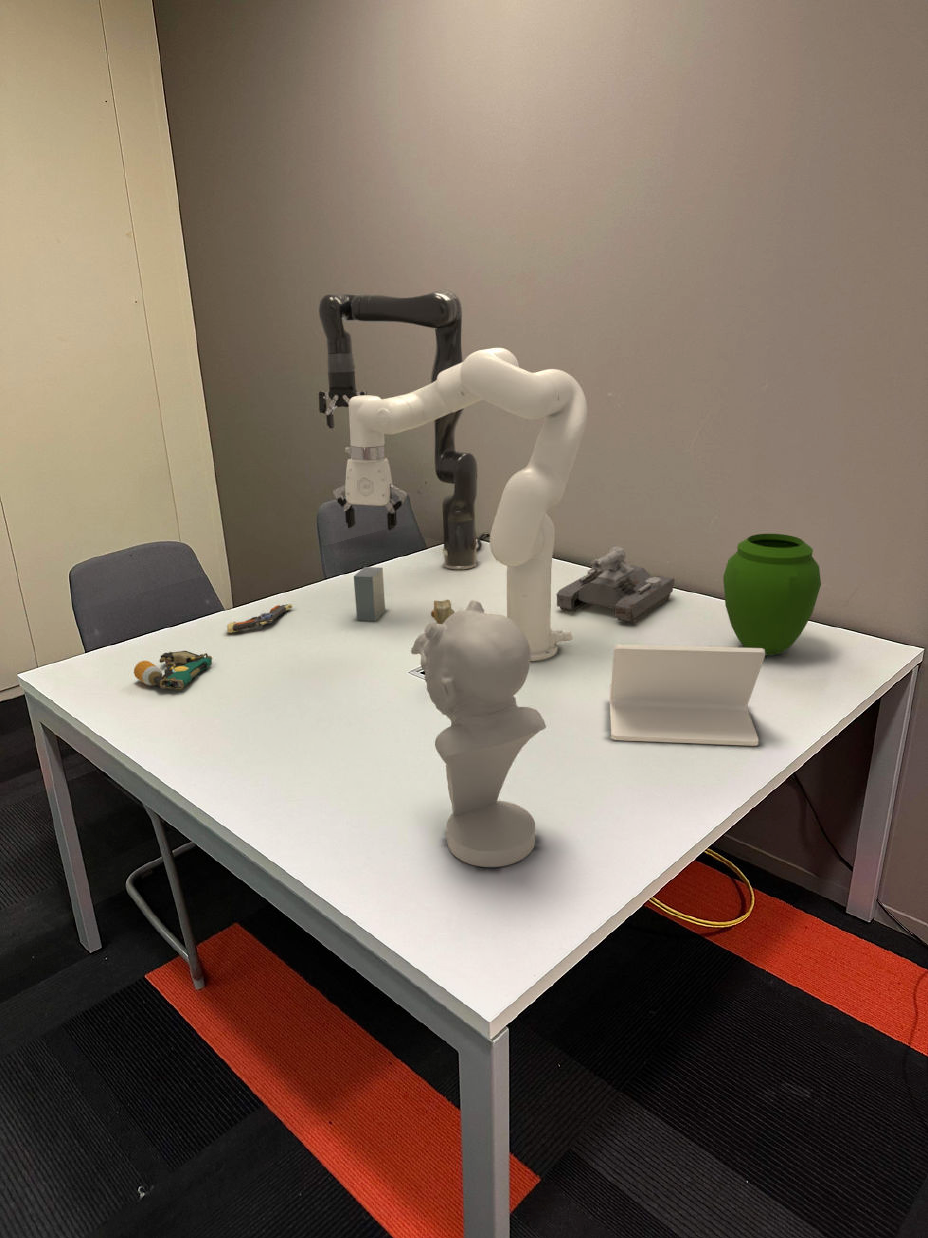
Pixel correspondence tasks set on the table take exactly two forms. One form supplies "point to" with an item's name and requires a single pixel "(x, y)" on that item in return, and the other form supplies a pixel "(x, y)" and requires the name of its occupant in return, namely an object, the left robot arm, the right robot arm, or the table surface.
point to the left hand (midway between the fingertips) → (345, 428)
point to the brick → (369, 593)
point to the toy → (616, 588)
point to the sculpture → (441, 611)
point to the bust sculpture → (481, 729)
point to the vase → (771, 590)
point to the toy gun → (258, 619)
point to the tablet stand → (683, 694)
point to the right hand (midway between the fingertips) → (371, 527)
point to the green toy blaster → (172, 669)
